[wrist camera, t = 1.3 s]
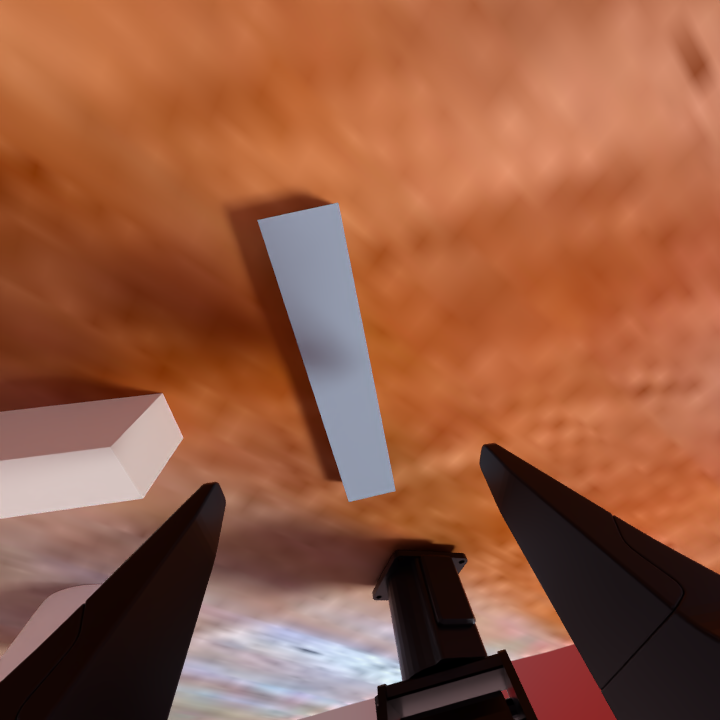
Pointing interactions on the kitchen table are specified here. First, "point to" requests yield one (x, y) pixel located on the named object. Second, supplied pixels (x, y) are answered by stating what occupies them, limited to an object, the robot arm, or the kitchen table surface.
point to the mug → (44, 624)
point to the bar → (331, 341)
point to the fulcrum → (83, 453)
